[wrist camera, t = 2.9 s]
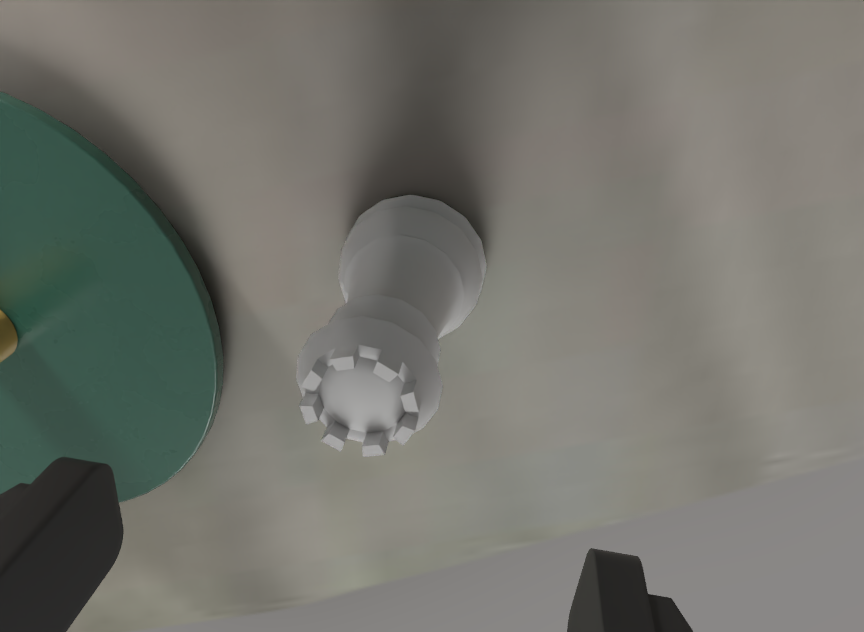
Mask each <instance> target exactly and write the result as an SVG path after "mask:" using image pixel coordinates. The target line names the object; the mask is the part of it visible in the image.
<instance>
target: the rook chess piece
mask: <svg viewBox="0 0 864 632" xmlns="http://www.w3.org/2000/svg"><path fill="white" fill-rule="evenodd" d="M486 268H487V265H486V261H485V256H484V251H483V246H482V241H481V239H480V238H479V236H478V235H477V233H476V232H475V230H474V229H473V228H472V226H471V225H470V223H469V222H468V220H467V219H466V217H465V216H463V215H462V214H460V213H458V212H457V211H455V210H454V209H452V208H451V207H449V206H448V205H446V204H445V203H443V202H442V201H440V200H435V199H430V198H425V197H421V196H416V195H406V196H400V197H395V198H390V199H384V200H382V201H380V202H379V203H377V204H376V205H374V206H373V207H371V208H370V209H368V210H367V211H365V212H364V213H362V214H361V215H360V216H359V218H358V219H357V221H356V223H355V224H354V226H353V227H352V229H351V231H350V232H349V234H348V236H347V237H346V242H345V244H344V246H343V247H342V249H341V257H340V266H339V283H340V286H341V289H342V292H343V296H344V299H345V302H346V304H345V305H343V306H342V307H340V308H338V309H337V310H336V312H335V314H334V315H333V317H332V318H331V320H330V321H329V323H328V324H327V325H325V326H324V327H322V328H321V329H319V330H317V331H316V332H314V333H312V334H311V335H310V337H309V338H308V340H307V341H306V343H305V345H304V346H303V348H302V349H301V351H300V353H299V354H298V361H297V374H296V380H297V383H298V386H299V388H300V391H301V394H302V396H303V399H302V401H301V403H300V405H299V407H300V409H301V412H302V415H303V417H304V420H305V422H306V424H310V423H313V422H316V421H318V420H319V419H320V421H321V422H322V423H323V424H324V425H325V426H326V427H327V428H326V430H325V433H324V435H323V437H322V439H321V441H322V442H324V443H326V444H328V445H329V446H331V447H333V448H335V449H336V450H338V451H340V452H341V450H342V448H343V445H344V443H345V440H346V439H350V440H355V441H359V442H363V445H362V451H363V457H367V456H377V455H385V453H386V449H387V446H388V442H389V441H394V440H397V441H398V442H399V443H400V444H402V445H404V444H405V443H406V442H407V440H408V439H409V438H410V437H411V435H412V434H413V433H414V432H417V431H419V430H421V429H423V427H424V426H425V425H426V424H427V423H428V421H429V420H430V419H431V418H432V416H433V415H434V414H435V413H436V412H437V410H438V407H439V402H440V398H441V393H442V388H443V385H442V381H441V377H440V373H439V369H438V361H439V356H440V351H441V350H440V346H439V342H438V339H439V338H441V337H442V336H444V335H446V334H448V333H450V332H451V331H453V330H455V329H457V328H458V327H459V326H460V325H461V324H462V323H463V321H464V320H465V319H466V318H467V316H468V315H469V314H470V312H471V311H472V310H473V309H474V307H475V306H476V305H477V302H478V297H479V294H480V293H481V290H482V286H483V281H484V277H485V273H486Z"/></svg>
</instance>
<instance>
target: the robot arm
mask: <svg viewBox="0 0 864 632" xmlns="http://www.w3.org/2000/svg"><path fill="white" fill-rule="evenodd" d="M122 540H123V524H122V518H121V513H120V507H119V501H118V496H117V490H116V485H115V479H114V474H113V470H112V468H111V467H110V466H109V465H108V464H104V463H98V462H92V461H87V460H81V459H75V458H69V457H60V458H58V459H56V460H55V461H53V462H52V463H51V464H50V465H49V466H48V467H47V468H46V469H45V470H44V471H43V472H42V473H41V474H40V475H39V476H38V477H37V478H36V479H35V480H34V481H33V482H32V483H31V484H26V483H19V484H18V485H16V486H14V487H12V488H11V489H9V490H7V491H6V492H4V493H2V494H0V632H66V631H67V630H68V628H69V627H70V625H71V624H72V623H73V621H74V620H75V618H76V617H77V616H78V614H79V613H80V611H81V610H82V608H83V607H84V606H85V604H86V603H87V601H88V600H89V599H90V597H91V596H92V594H93V593H94V592H95V590H96V589H97V587H98V586H99V585H100V583H101V582H102V580H103V579H104V578H105V576H106V575H107V573H108V572H109V570H110V569H111V568H112V566H113V564H114V563H115V561H116V559H117V556H118V554H119V551H120V548H121V545H122ZM567 632H693V631H692V629H691V627H690V626H689V624H688V623H687V622H686V620H685V618H684V617H683V615H682V614H681V613H680V611H679V609H678V608H677V606H676V605H675V603H674V602H673V600H672V599H671V598H668V597H661V596H656V595H650V594H648V593H647V588H646V582H645V577H644V572H643V567H642V564H641V561H640V559H639V557H638V556H633V555H627V554H621V553H615V552H609V551H603V550H597V549H592V548H591V549H590V550H589V551H588V553H587V556H586V559H585V563H584V566H583V569H582V573H581V576H580V579H579V583H578V586H577V589H576V593H575V596H574V600H573V603H572V606H571V610H570V614H569V620H568V629H567Z"/></svg>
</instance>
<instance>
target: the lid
mask: <svg viewBox="0 0 864 632" xmlns="http://www.w3.org/2000/svg"><path fill="white" fill-rule="evenodd" d="M222 385H223V351H222V344H221V337H220V330H219V325H218V322H217V318H216V315H215V311H214V308H213V304H212V301H211V298H210V296H209V293H208V291H207V288H206V286H205V284H204V281H203V279H202V277H201V274H200V272H199V270H198V268H197V266H196V264H195V262H194V261H193V259H192V257H191V255H190V254H189V252H188V250H187V248H186V246H185V245H184V243H183V241H182V239H181V238H180V237H179V235H178V234H177V232H176V231H175V230H174V228H173V227H172V225H171V224H170V223H169V221H168V220H167V218H166V217H165V216H164V214H163V213H162V211H161V210H160V209H159V208H158V206H157V205H156V204H155V203H154V202H153V201H152V200H151V199H150V197H149V196H148V195H147V194H146V193H145V192H144V191H143V190H142V188H141V187H140V186H139V185H138V184H137V183H136V182H135V181H134V180H133V179H132V178H131V177H130V176H129V175H128V174H127V173H126V172H125V171H124V170H123V169H121V168H120V167H119V166H118V165H117V164H116V163H115V162H114V161H113V160H112V159H111V158H110V157H108V156H107V155H106V154H105V153H104V152H102V151H101V150H100V149H98V148H97V147H96V146H94V145H93V144H92V143H90V142H89V141H88V140H86V139H85V138H84V137H83V136H81V135H80V134H79V133H77V132H76V131H75V130H73V129H71V128H70V127H68V126H66V125H65V124H63V123H61V122H60V121H58V120H56V119H55V118H53V117H51V116H50V115H48V114H47V113H45V112H43V111H42V110H40V109H38V108H36V107H33V106H31V105H29V104H27V103H25V102H23V101H21V100H18V99H16V98H14V97H12V96H10V95H8V94H6V93H3V92H0V494H2V493H4V492H6V491H7V490H9V489H11V488H12V487H14V486H16V485H18V484H19V483H26V484H31V483H32V482H33V481H34V480H35V479H36V478H37V477H38V476H39V475H40V474H41V473H42V472H43V471H44V470H45V469H46V468H47V467H48V466H49V465H50V464H51V463H52V462H53V461H55V460H56V459H58V458H60V457H69V458H75V459H81V460H87V461H92V462H98V463H104V464H108V465H109V466H110V467H111V468H112V470H113V474H114V479H115V485H116V490H117V496H118V501H119V502H123V501H127V500H130V499H133V498H135V497H138V496H140V495H143V494H146V493H148V492H150V491H151V490H153V489H155V488H157V487H158V486H160V485H162V484H164V483H165V482H167V481H168V480H169V479H171V478H172V477H173V476H174V475H175V474H177V473H178V472H179V471H180V470H181V469H183V467H184V466H185V465H186V464H187V463H188V461H189V460H190V459H191V458H192V457H193V455H194V454H195V453H196V452H197V450H198V449H199V447H200V446H201V444H202V443H203V441H204V439H205V437H206V436H207V434H208V432H209V430H210V429H211V427H212V424H213V421H214V418H215V416H216V413H217V410H218V407H219V403H220V397H221V391H222Z"/></svg>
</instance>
